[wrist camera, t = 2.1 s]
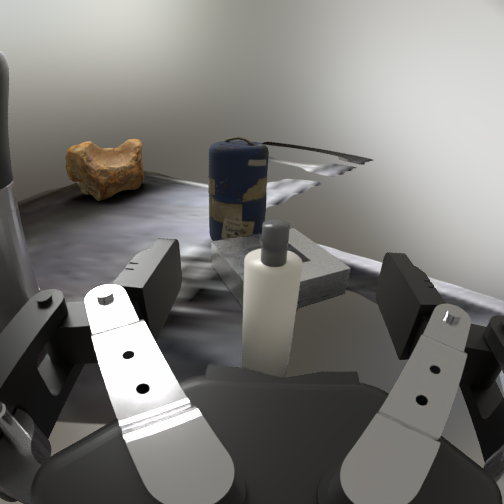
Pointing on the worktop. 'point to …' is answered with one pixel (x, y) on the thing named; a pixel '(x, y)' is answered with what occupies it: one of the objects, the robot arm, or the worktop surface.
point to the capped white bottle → (270, 301)
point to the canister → (237, 188)
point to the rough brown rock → (105, 168)
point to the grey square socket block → (312, 255)
